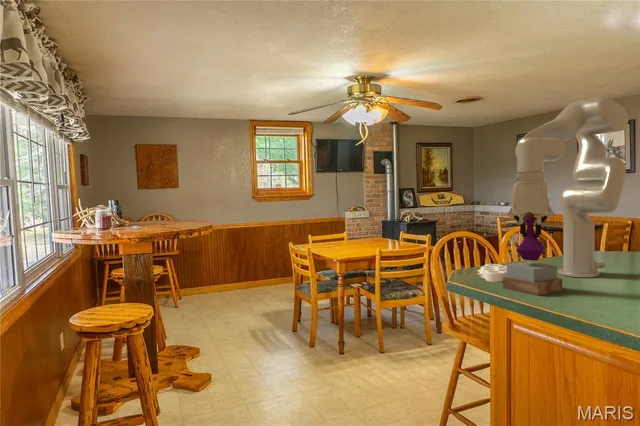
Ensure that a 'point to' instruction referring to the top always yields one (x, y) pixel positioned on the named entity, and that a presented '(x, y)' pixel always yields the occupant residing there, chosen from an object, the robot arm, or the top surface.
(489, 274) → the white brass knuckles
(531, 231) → the perfume bottle
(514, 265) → the tower top
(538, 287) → the tower bottom
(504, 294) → the top surface
